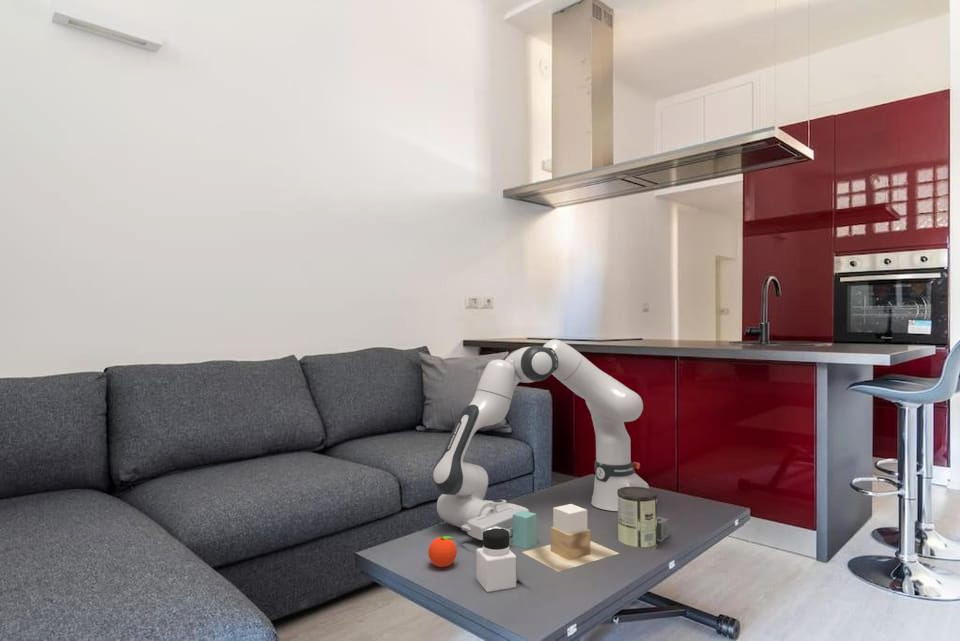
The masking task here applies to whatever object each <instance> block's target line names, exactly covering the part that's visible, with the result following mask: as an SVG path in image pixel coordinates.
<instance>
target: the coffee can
mask: <svg viewBox="0 0 960 641" xmlns="http://www.w3.org/2000/svg"><path fill="white" fill-rule="evenodd" d="M617 494H618V511H617V526H618V527H617V528H618V530H617V533H618V537H617V538H618V541H619V542H620V543H622V544H624V545H628V546H630V547H637V548H652V549H654V548H655V547H656V546H657V545H658V541H657V517H658V511H657V510H658V506H657V504H658V503H657V501H658V499H657V498H658V492H657V491H655V490H654V489H652V488H650V487H649V488H644V487H623V488H620V489H618V490H617ZM657 547H658V546H657Z"/></svg>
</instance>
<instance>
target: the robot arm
mask: <svg viewBox="0 0 960 641" xmlns="http://www.w3.org/2000/svg"><path fill="white" fill-rule="evenodd" d="M551 375H553V377H555V378H556V379H557V380H558V381H560V383H561V384H563V385H564V386H566V387H567V389H569V390H570V391H571V392H573V393H574V394H575V395H576V396H578V397H580V398H582V399H584V400H585V404H586V406H587V409H588V410H589V413H590V415H591V416H590V417H591V421H592V425H593V428H594V434H595V458H596V459H595V460H594V472H595V476H594V482H593V484H594V485H593V493H592V495H591V503H590V504H591V505H592V506H593V507H595V508H597V509H600V510H604V511H605V510H606V511H610V512H618V494H617V490H618V489H620V488H623V487H644V488H649V489H650V486H649V484H648V483H647V481H645V480H644V479H643V478H642V477H640V476H639V475H638V474H637V473H636V471H635V469H637V470H639V469H640V468H641V464H640V462H636V461H633V462H632V460H631V456H632V455H631V437H630V435H629V433H628V431H627V429H626V426H625V423H630V422H634V421H636V420H638V418H640V417H641V415H642V412H643V410H644V403H643V399H642V397H641V396H640V395H639V394H638V393H637V392H635V391H634V390H632V389H630V388H629V387H627V386H626V385H625V384H623V383H622V382H620V381H619V380H617V379H615V378H614V377H613V376H611V375H609V374H608V373H606V372H604V371H603V370H601V369H600V368H598V367H597V366H596V365H595V364H594V363H592V362H591V361H590V360H589V359H587V357H585V356H584V355H582V354H581V353H580V352H579V351H578V350H577V349H575V348H573V347H572V346H571V345H569V344H567V343H565V342H563V341H562V340H560V339H550V340H548V341H546V342H545V343H544V344H543V346H540V345H533V346H526V347H525V346H524V347H521V348H519V349H515V350H512V351H510V353H508V354H507V355H506V356H505V357H504V358H503V359H498V358H497V359H494V360H490V361H489V362H488V363H487V364H486V366H485V367H484V370H483V372H482V374H481V377H480V379H479V381H478V385H477V387H476V391H475V394H474V396H473V398H472V400H471V402H470V403H469V404H468V405H467V406H465V408H463V410H461V413H460V414H459V416H458V418H457V420H456V423H455V425H454V427H453V429H452V432H451V434H450V436H449V438H448V441H447V442H446V445H445V448H444V449H443V452H442V454H441V456H440V457H439V459H438V460H437V462H436V463H435V465H434V468H433V469H432V475H431V478H432V482H433V485H434V487H435V488H434V489H435V490H436V491H437V492H438V493H439V494H441V495H440V496H438V499H437V502H436V511H437V514H438V516H439V517H440V519H441V520H443V521H444V522H446V523H448V524H450V525H451V526H456V527H457V528H460V529H461V530H462V531H465V532H466V533H467V535H469V537H470V536H471V537H472V538H475V539H477V540H479V541H483V532H484V531H485V530H486V529H489V528H494V527H498V528H503V529H505V530H507V531H508V532H509V538H510V537H513V514H515V513H518V512H520V511H523V510H524V511H528V512H530V510H529V509H528V508H527V507H525V506H523V505H518V504H515V503H509V502H507V500H505V499H496V500H495V499H494V500H486V499H485V497H486V494H487V491H488V488H489V483H490V482H489V480H490V479H489V474H488V472H487V470H486V468H484V467H483V466H480V465H477V464H475V463H471V462H470V463H469V462H466V461H464V457H465V454H467V450H468V448H469V445H470V443H471V441H472V438H473V436H474V435H475V433H476V432H477V431H478V430H480V429H482V428H484V427H489V426H493V425H496V424H498V423H500V422H501V421H503V420H505V418H506V416H507V414H508V413H509V409H510V406H511V403H512V398H513V395H514V392H515V391H514V390H515V389H516V387H517V385H518V384H520V383H526V384H529V383H534V382H541V381H543V380H546V379H548V378H549V377H550V376H551Z"/></svg>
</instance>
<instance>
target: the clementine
mask: <svg viewBox="0 0 960 641" xmlns="http://www.w3.org/2000/svg"><path fill="white" fill-rule="evenodd" d="M452 539H455V540H456V537H453V536H451V535H450V536H449V535H445V536H438V537H436V538H434V539H433V540H432V541H431V543H430V544H429V546H428V550H427V551H428V552H427V554H428V558H429V560H430V562H431V563H432V564H433V565H434V566H436V567H438V568H447V567H448V566H450V565H451V564H453V563H454V562H455V560H456V558H457V552H458V550H457V545H456V543H459V542H458V540H456V543H455V542H454V541H453V540H452Z"/></svg>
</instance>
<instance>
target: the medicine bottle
mask: <svg viewBox="0 0 960 641" xmlns="http://www.w3.org/2000/svg"><path fill="white" fill-rule="evenodd" d="M475 559H476V562H475V563H476V580H477V581H478V583H479V584H480V585H481V586H482V588H483V589H484V590H485V591H486V593H491V592H497V591H502V590H508V589H515V588H517V555H516V554H515V553H513V551H511V549H510V537H509V532H508V531H507V530H505V529H503V528H498V527H494V528H489V529H486V530H485V531H484V532H483V540H482V547H478V548H476V556H475Z"/></svg>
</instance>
